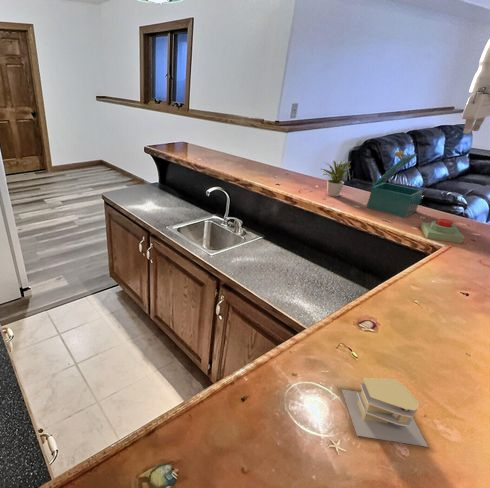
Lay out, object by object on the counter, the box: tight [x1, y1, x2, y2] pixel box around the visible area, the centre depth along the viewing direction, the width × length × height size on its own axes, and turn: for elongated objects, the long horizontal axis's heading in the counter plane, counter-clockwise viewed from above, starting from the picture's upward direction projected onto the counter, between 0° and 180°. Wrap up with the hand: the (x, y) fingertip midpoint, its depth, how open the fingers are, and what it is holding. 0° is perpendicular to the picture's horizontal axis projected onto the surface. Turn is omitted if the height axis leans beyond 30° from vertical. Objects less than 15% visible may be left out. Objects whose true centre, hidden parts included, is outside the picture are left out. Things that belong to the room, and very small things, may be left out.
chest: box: [366, 182, 424, 218], centre depth 143 cm, size 15×12×9 cm
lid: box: [371, 150, 417, 187], centre depth 141 cm, size 15×12×5 cm
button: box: [437, 218, 454, 227], centre depth 120 cm, size 4×4×2 cm
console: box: [419, 220, 465, 244], centre depth 121 cm, size 10×10×4 cm
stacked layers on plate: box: [341, 377, 429, 448], centre depth 56 cm, size 10×9×6 cm
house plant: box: [320, 159, 352, 197], centre depth 160 cm, size 14×14×16 cm
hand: (470, 132), depth 118 cm, fingers open, 8 cm apart
